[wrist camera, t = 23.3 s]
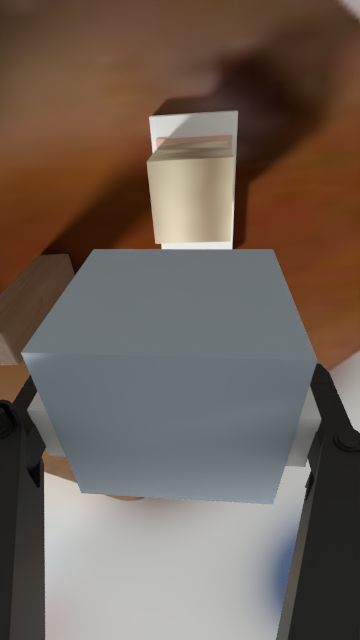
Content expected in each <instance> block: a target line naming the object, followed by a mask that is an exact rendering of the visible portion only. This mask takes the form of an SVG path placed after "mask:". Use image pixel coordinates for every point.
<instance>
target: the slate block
mask: <svg viewBox="0 0 360 640" xmlns="http://www.w3.org/2000/svg"><path fill="white" fill-rule="evenodd" d="M21 354H22V356H23V359H24V361H25V363H26V365H27V368H28V370H29V372H30V375H31V377H32V379H33V382H34V384H35V386H36V389H37V391H38V393H39V396H40V398H41V400H42V402H43V405H44V407H45V409H46V412H47V414H48V416H49V419H50V421H51V423H52V426H53V428H54V430H55V432H56V435H57V437H58V439H59V442H60V444H61V446H62V449H63V451H64V453H65V456H66V458H67V460H68V463H69V465H70V467H71V469H72V472H73V474H74V476H75V479H76V481H77V483H78V486H79V488H80V490H81V493H90V494H106V495H123V496H140V497H157V498H174V499H175V498H176V499H190V500H207V501H224V502H242V503H258V504H273V503H274V500H275V497H276V493H277V490H278V487H279V484H280V480H281V477H282V474H283V471H284V467H285V464H286V461H287V458H288V454H289V451H290V448H291V445H292V441H293V438H294V435H295V432H296V428H297V425H298V422H299V419H300V415H301V412H302V409H303V406H304V402H305V399H306V396H307V393H308V389H309V386H310V383H311V380H312V376H313V373H314V370H315V367H316V363H317V358H316V356H315V353H314V351H313V348H312V346H311V343H310V341H309V338H308V336H307V333H306V331H305V328H304V326H303V323H302V321H301V318H300V316H299V313H298V311H297V308H296V306H295V303H294V301H293V298H292V296H291V293H290V291H289V288H288V286H287V283H286V281H285V279H284V276H283V274H282V271H281V269H280V266H279V264H278V261H277V259H276V256H275V254H274V251H273V249H93V251H92V252H91V254H90V255H89V257H88V258H87V259H86V261H85V262H84V264H83V265H82V266H81V268H80V269H79V271H78V272H77V274H76V275H75V276H74V278H73V279H72V281H71V282H70V284H69V285H68V286H67V288H66V289H65V291H64V292H63V293H62V295H61V296H60V298H59V299H58V301H57V302H56V303H55V305H54V306H53V308H52V309H51V311H50V312H49V313H48V315H47V316H46V318H45V319H44V320H43V322H42V323H41V325H40V326H39V328H38V329H37V330H36V332H35V333H34V335H33V336H32V338H31V339H30V340H29V342H28V343H27V345H26V346H25V347H24V349H23V350H22V352H21Z"/></svg>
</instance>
